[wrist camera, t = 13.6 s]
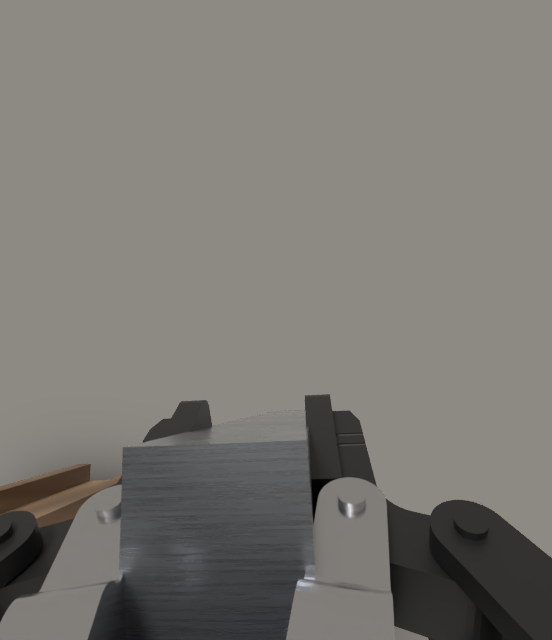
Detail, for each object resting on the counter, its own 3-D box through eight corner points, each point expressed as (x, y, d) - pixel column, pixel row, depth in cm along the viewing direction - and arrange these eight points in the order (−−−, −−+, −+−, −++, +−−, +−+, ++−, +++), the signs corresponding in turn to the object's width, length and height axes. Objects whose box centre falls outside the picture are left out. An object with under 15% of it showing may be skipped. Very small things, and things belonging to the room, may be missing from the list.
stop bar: (115, 659, 6) (123, 447, 6) (273, 453, 29) (271, 411, 30) (320, 661, 6) (307, 439, 6) (314, 451, 29) (311, 409, 30)
